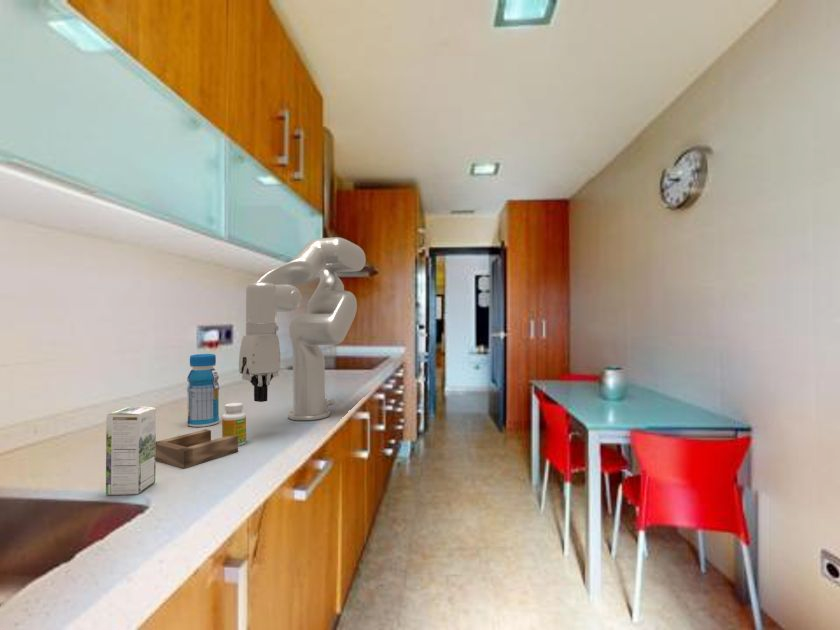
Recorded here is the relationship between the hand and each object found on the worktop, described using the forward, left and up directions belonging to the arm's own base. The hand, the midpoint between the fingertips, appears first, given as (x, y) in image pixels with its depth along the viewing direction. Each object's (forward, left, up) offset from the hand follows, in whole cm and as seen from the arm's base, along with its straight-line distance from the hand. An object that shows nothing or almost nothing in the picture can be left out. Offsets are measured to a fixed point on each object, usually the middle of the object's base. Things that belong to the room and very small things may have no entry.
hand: (260, 400), depth 116 cm
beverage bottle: (-1, -25, -9) cm, 27 cm away
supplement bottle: (+8, 0, -9) cm, 12 cm away
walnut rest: (+18, 0, -9) cm, 20 cm away
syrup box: (+35, +8, -9) cm, 37 cm away
